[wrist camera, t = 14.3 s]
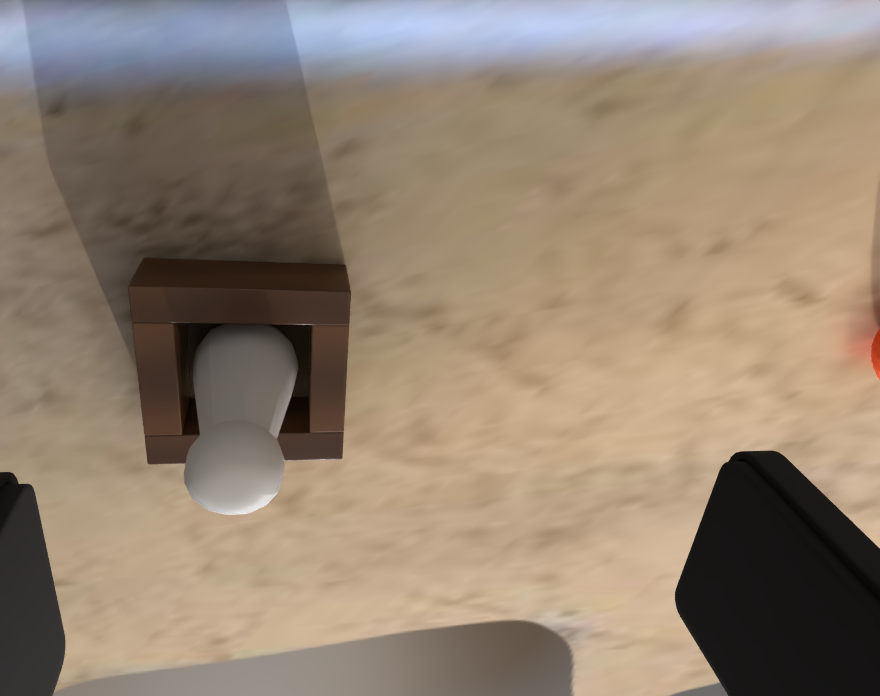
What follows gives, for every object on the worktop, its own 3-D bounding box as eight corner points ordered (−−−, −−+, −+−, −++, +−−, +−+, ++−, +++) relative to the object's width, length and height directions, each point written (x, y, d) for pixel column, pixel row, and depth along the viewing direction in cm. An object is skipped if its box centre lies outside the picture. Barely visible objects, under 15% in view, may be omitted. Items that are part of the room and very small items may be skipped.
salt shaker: (230, 403, 42) (208, 556, 31) (177, 330, 39) (132, 470, 28) (315, 364, 42) (323, 504, 31) (268, 288, 39) (259, 411, 28)
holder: (143, 257, 37) (127, 286, 33) (346, 264, 39) (351, 291, 36) (159, 425, 42) (147, 465, 38) (338, 422, 44) (342, 459, 41)
